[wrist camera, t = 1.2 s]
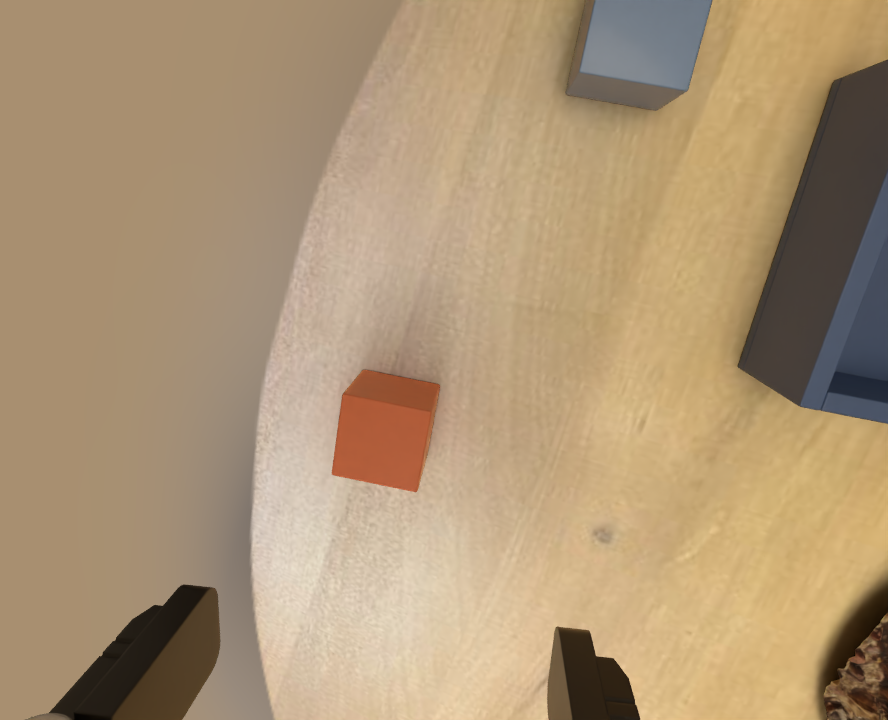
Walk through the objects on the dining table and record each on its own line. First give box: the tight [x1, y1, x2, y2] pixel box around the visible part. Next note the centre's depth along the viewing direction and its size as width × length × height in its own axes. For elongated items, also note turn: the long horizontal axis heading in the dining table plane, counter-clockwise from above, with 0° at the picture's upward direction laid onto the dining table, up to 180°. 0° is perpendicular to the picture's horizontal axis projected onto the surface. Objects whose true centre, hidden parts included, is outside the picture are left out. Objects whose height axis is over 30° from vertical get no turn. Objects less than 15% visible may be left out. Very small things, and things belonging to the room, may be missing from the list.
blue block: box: [566, 0, 712, 110], centre depth 22 cm, size 4×4×4 cm
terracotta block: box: [332, 370, 440, 492], centre depth 27 cm, size 4×4×4 cm
